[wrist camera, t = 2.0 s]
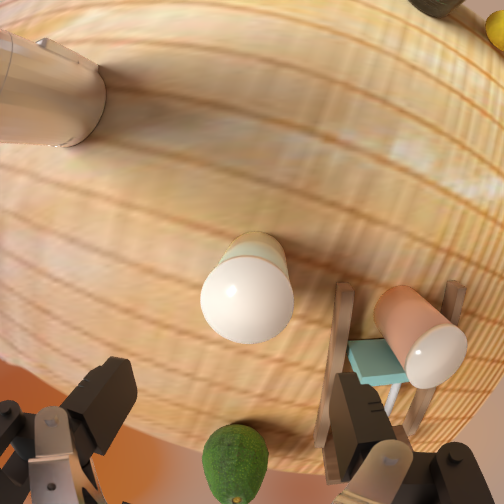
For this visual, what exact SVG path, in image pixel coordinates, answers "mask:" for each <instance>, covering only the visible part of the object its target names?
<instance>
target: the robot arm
mask: <svg viewBox="0 0 504 504" xmlns="http://www.w3.org/2000/svg"><path fill="white" fill-rule="evenodd" d="M105 100H106V90H105V84H104V82H103V79H102V78H101V76H100V75H99V73H98V64H96V63H94V62H92V61H90V60H89V59H87V58H85V57H83V56H81V55H80V54H78V53H76V52H74V51H72V50H70V49H68V48H66V47H64V46H63V45H61V44H59V43H57V42H55V41H53V40H51V39H49V38H43V39H41V40H39V41H37V42H32V41H30V40H28V39H25V38H23V37H20V36H18V35H15V34H13V33H10V32H8V31H5V30H2V29H0V143H15V144H33V145H48V146H58V147H59V146H60V147H69V146H73V145H76V144H78V143H80V142H81V141H83V140H84V139H85V138H86V137H87V136H88V135H89V134H90V133H91V132H92V131H93V129H94V128H95V127H96V125H97V123H98V121H99V120H100V117H101V115H102V113H103V110H104V105H105ZM136 399H137V386H136V382H135V379H134V375H133V371H132V367H131V363H130V361H129V360H128V359H124V358H118V357H113V356H111V357H109V358H108V360H107V361H106V362H105V363H104V364H103V365H102V366H98V367H96V368H95V369H93V370H91V371H90V372H89V373H88V374H87V375H86V376H85V377H84V379H83V380H82V381H81V382H80V383H79V384H78V386H77V387H76V388H75V389H74V390H73V391H72V392H71V394H70V395H69V396H68V397H67V398H66V399H65V401H64V402H63V403H62V404H61V405H60V406H59V407H57V406H50V407H46V408H43V409H42V410H40V411H39V412H38V414H31V413H23V412H22V410H21V408H20V406H19V405H18V403H16V402H15V401H11V400H6V401H2V402H0V456H1V455H2V454H3V452H4V451H5V450H6V448H7V447H8V446H9V444H11V445H12V447H13V448H14V449H15V451H14V452H13V454H12V455H11V457H10V458H9V460H8V461H7V462H6V464H5V465H4V467H3V468H2V470H1V468H0V504H23V502H24V500H25V499H26V497H27V495H28V493H29V492H30V490H31V498H32V504H107V502H106V500H105V499H104V496H103V494H102V491H101V488H100V485H99V481H98V478H97V475H96V471H95V467H94V464H93V461H92V458H91V456H92V454H93V453H97V454H100V455H103V456H104V455H105V454H106V452H107V450H108V448H109V447H110V445H111V443H112V441H113V440H114V438H115V436H116V434H117V433H118V431H119V429H120V427H121V426H122V424H123V422H124V421H125V419H126V417H127V415H128V414H129V412H130V410H131V409H132V407H133V405H134V403H135V402H136ZM329 419H330V424H331V429H332V434H333V440H334V445H335V451H336V456H337V462H338V468H339V474H340V480H341V482H348V481H350V482H349V484H348V485H347V487H346V488H345V489H344V491H343V492H342V493H340V494H339V495H338V496H337V497H336V498H335V499H334V501H333V502H332V503H331V504H495V503H494V500H493V498H492V495H491V493H490V490H489V488H488V486H487V483H486V481H485V479H484V476H483V474H482V472H481V470H480V468H479V466H478V463H477V461H476V459H475V457H474V455H473V453H472V451H471V450H470V448H469V447H468V446H466V445H465V444H463V443H459V442H449V443H446V444H444V445H443V446H442V447H441V448H440V449H439V450H438V452H437V453H425V452H414V451H412V450H411V449H410V447H409V446H408V445H406V444H405V443H403V442H401V441H398V440H397V438H396V435H395V433H394V430H393V428H392V426H391V423H390V421H389V418H388V416H387V413H386V411H385V409H384V406H383V404H382V403H381V399H380V397H379V394H378V392H377V391H376V390H375V389H374V388H373V387H372V386H371V385H369V384H361V383H360V381H359V378H358V375H357V373H356V372H346V373H336V374H335V377H334V382H333V387H332V392H331V397H330V402H329ZM122 504H129V503H127V502H122Z"/></svg>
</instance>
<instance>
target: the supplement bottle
mask: <svg viewBox="0 0 504 504" xmlns="http://www.w3.org/2000/svg"><path fill="white" fill-rule="evenodd" d="M409 1H410V2H411V3H412V4H413V5H414V6H415V7H416V8H418V9H419V10H421V11H422V12H424V13H426V14H428V15H431V16H434V17H445V16H447V15H449V14H450V13H451V12H452V11H453V10H455V9H456V8H457V7H458V6H460V5H461V4H462V3H463V2H464V1H465V0H409Z"/></svg>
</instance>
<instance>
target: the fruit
mask: <svg viewBox="0 0 504 504" xmlns="http://www.w3.org/2000/svg"><path fill="white" fill-rule="evenodd" d="M268 455H269V452H268V450H267V447H266V444H265V441H264V439H263V437H262V436H261V435H260V434H259V433H258V432H257V431H256V430H254V429H253V428H251V427H248V426H245V425H237V424H233V425H226V426H224V427H221V428H219V429H218V430H216V431H215V432H214V433H213V434H212V435H211V436H210V437H209V439H208V441H207V442H206V444H205V446H204V450H203V455H202V463H203V468H204V473H205V476H206V479H207V481H208V484H209V487H210V490H211V491H212V493H213V495H214V497H216V499H217V500H218V501H219V502H220V503H222V504H248V503H249V502H250V501H251V500H253V499H254V498H255V496H256V494H257V492H258V491H259V488H260V486H261V484H262V482H263V479H264V476H265V473H266V471H267V464H268Z"/></svg>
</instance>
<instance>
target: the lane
mask: <svg viewBox="0 0 504 504" xmlns="http://www.w3.org/2000/svg"><path fill="white" fill-rule="evenodd" d="M354 293H355V291H354V290H353V288H352V287H351V286H350V284H349V283H337V284H336V294H335V304H334V313H333V321H332V329H331V337H330V344H329V351H328V358H327V364H326V371H325V377H324V383H323V388H322V394H321V399H320V405H319V410H318V415H317V420H316V425H315V429H314V434H313V437H314V446H315V448H322V452H323V460H324V467H325V475H326V483H327V485H331V484H341V483H349V482H350V481H348V482H341V480H340V474H339V468H338V462H337V456H336V451H335V445H334V440H333V434H328V431H329V427H330V419H329V402H330V397H331V392H332V387H333V382H334V377H335V374H336V373H342V369H343V364H344V359H345V353H346V348H347V342H348V336H349V329H350V323H351V316H352V309H353V301H354ZM465 293H466V287H465V286H463V285H461V284H460V283H458V282H457V281H447V286H446V291H445V296H444V300H443V305H442V309H441V314H442V315H443V316H444V317H445V318H446V319H447V320H449V321H450V322H451V323H452V324H453V325H455V326H457V325H458V321H459V317H460V314H461V310H462V306H463V301H464V297H465ZM436 387H437V386H435V387H432V388H428V389H420V388H417V391H416V394H415V396H414V399H413V401H412V404H411V406H410V408H409V411H408V413H407V415H406V418H405V420H404V422H403V424H402V425H399V426H394V427H392V428H393V430H394V433H395V435H396V438H397V440H398V441H401V442H403V443H405V444H406V445H408V446H409V447H410V449H411V450H412V451H413V449H412V446H411V444H410V442H409V439H408V437H407V436H410V435H414V434H415V432H416V430H417V429H418V427H419V424H420V422H421V420H422V418H423V416H424V414H425V412H426V410H427V408H428V405H429V403H430V401H431V399H432V396H433V394H434V391H435V389H436Z"/></svg>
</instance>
